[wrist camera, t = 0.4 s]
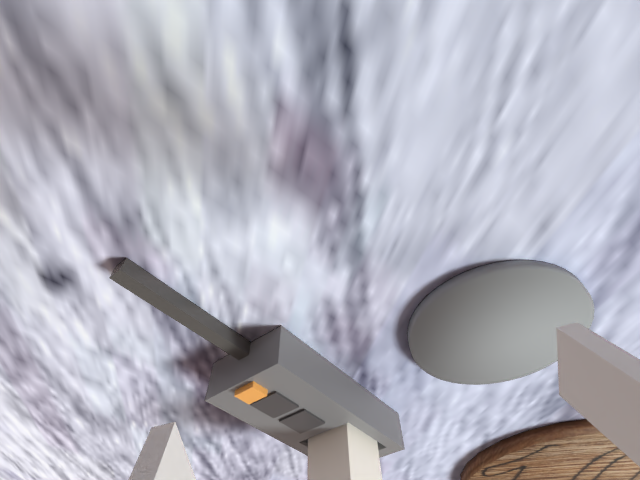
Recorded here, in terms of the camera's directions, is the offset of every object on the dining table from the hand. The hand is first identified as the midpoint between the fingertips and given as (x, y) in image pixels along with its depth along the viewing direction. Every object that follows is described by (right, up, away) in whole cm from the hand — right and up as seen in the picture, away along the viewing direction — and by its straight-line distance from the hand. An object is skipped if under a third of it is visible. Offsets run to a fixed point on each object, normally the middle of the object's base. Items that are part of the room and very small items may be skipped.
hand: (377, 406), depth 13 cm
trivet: (+28, -23, +36) cm, 51 cm away
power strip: (-6, -5, +21) cm, 22 cm away
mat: (+12, -1, +18) cm, 22 cm away
